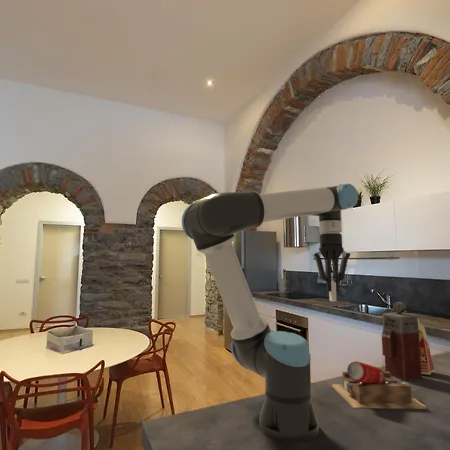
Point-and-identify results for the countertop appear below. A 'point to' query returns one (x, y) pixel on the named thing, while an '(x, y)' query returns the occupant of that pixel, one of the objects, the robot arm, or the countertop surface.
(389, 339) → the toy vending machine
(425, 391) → the countertop surface
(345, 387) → the plunger
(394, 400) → the holder
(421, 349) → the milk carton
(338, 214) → the robot arm
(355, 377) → the beverage can
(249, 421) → the countertop surface
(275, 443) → the countertop surface
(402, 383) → the plunger
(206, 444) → the countertop surface
